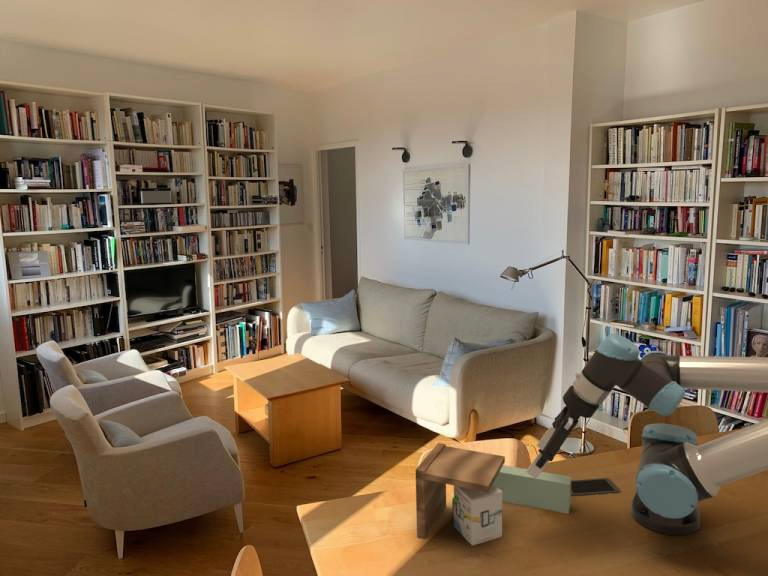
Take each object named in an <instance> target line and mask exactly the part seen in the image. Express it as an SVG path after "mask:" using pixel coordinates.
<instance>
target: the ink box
mask: <svg viewBox="0 0 768 576" xmlns="http://www.w3.org/2000/svg"><path fill="white" fill-rule="evenodd" d="M453 497H454V512H453V527H454V528H455V530H456V531H457V532H458V533H459V534H460V535H461V536H462V537H463V538H464V539H465V540H466V541H467V542H468V543H469V544H470V545H471V546H476V545H479V544H483V543H485V542H488V541H491V540H495V539H498V538H502V537H503V501H502V491H501V490H500V489H499V488H497V487H496V486H495V485H494V484H492V486H491V488H490V490H489V492H484V491H479V490H474V489H469V488H464V487H459V486H454V485H453Z"/></svg>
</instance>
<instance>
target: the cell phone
mask: <svg viewBox="0 0 768 576" xmlns="http://www.w3.org/2000/svg"><path fill="white" fill-rule="evenodd" d="M619 492H620V493H621V489H620V488H619V487H618V486H617V485H616V483H614V481H612V479H610V478H608V477H602V478H601V477H600V478H588V479H574V480H573V479H571V497H582V496H593V495H594V496H595V495H596V494H598V495H607V494H608V493H612V494H620V493H619ZM608 495H609V494H608Z"/></svg>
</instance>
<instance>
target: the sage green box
mask: <svg viewBox="0 0 768 576" xmlns="http://www.w3.org/2000/svg"><path fill="white" fill-rule="evenodd" d="M527 469H528V468H523V467H516V466H511V465H504V464H503V466H502V468H501V470H500V472H499V473H498V475H497V477H496V479H495V481H494V482H493V484H494V485H495V486H496V487H497V488H499V489H500V490H501V491H502V502H506V503H510V504H511V503H512V504H517V505H520V506H521V505H522V506H524V507H525V506H527V507H531V508H535V509H541V510H545V511H552V512H557V513H562V514H567V515H569V513H570V510H571V507H572V506H571V504H572V496H571V480H572V476H567V475H563V474H556V473H551V472H545V471H542V472H541V473H540V475H539V476H538V477H537V479H535V478H534V477H532V476H531V475H530V474H528V473H527V472H526V470H527ZM451 501H452V502H451V504H452V507H451V509H452V513H454V496H453V497H452V500H451Z"/></svg>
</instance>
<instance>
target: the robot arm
mask: <svg viewBox="0 0 768 576" xmlns="http://www.w3.org/2000/svg"><path fill="white" fill-rule="evenodd" d="M640 353H641V351H640V349H639V347H638V346H637V345H636V344H635V343H634V342H632V341H631V340H630V339H628V338H627V337H625V336H623V335H621V334H618V333H610V334H609V335H607V336H606V337H605V338H604V340H603V341H602V342H601V344H599V346H597V349H596V350H595V351H594V353H593V354H592V356H590V358H589V360H588V361H587V362H586V364H585V365H584V367H583V368H582V370H581V372H576V373H575V374H574V375H575V377H576V378H575V380H574V381H573V382H572V385H570V386H569V387H568V389H567V391H565V393H564V394H563V396H562V400H563V403H564V405H565V406H564V407H563V408H562V410H561V411H560V412H559V413H558V415H556V416H555V418H554V421H553V422H552V424H551V425H550V426H549V428H548V429H547V430H546V432H544V434H543V436H542V437H541V439H540V440H539V441H538V443H537V444H536V447H537V448H539V449H538V451H537V452H538V454H537V455H536V457H535V458H534V459H533V461H532V462H531V463H530V465H529V467H528V468H526V469H527V470H526V472H527V473H528V474H530V475H531V476H532V477H534V478H535V479H537V477H538V476H539V475H540V473H541V472H544V469H545V468H546V467H547V466H548V464H549V463H550V462H552V461H554V458H555V457H556V455H557V453H558V452H559V450H560V449H561V447H562V446H563V444H564V443H565V442H566V440H567V438H568V437H569V435H570V434H571V432H572V431H573V429H575V428H576V426H577V425H578V423H579V419H580V418H582V417H583V418H585V419H589V418H590V419H591V418H592V417H593V416H594V415H595V413H596V412H597V411H598V409H599V408H600V405H602V404H603V403H604V402H605V400H606V399H607V398H608V396H609V395H610V393H612V391H613V389H614V388H615V387H618V388H619V389H620V390H622V391H624V392H625V393H627V395H629V396H630V397H632V398H634V399H636V400H637V401H639V403H641V404H642V405H644V406H646V407H647V408H648V409H649V410H650V411H653V412H655V413H657V414H658V415H660V416H661V417H662V416H663V417H668V416H670V415H672V413H674V412H675V411H676V409H677V408H678V407H679V406H680V404H681V403H682V401H684V397H685V395H686V391H685V389H687V390H705V391H706V390H709V391H730V392H749V393H750V392H752V393H768V357H767V356H766V357H761V356H760V357H759V356H758V357H757V356H755V357H754V356H751V357H750V356H710V355H709V356H706V355H705V356H704V355H703V356H701V355H695V356H694V355H673V354H672V355H671V354H667V353H665V352H664V351H660V350H652V351H648V352H646V353H645V354H643V356H642V357H641V359H640V358H639V355H640ZM641 438H642V441H641V454H640V460H639V463H638V464H639V465H638V467H637V468H638V469H637V473H636V476H635V484H636V490H635V493H634V495H633V497H632V499H631V506H630V513H631V516H632V518H633V519H634V520H635V521H636V522H637V523H638V524H640V525H641V526H643V527H645V528H647V529H649V530H651V531H653V532H656V533H659V534H664V535H670V536H687V535H692V534H694V533H696V532H697V531H698V530H699V529H700V527H701V513H700V510H699V507H698V503H699V502H703V501H706V500H708V499H711V498H714V497H717V495H718V492H719V489H720V488H721V487H722V486H724V485H727V484H730V483H732V482H735V481H737V480H741V479H744V478H747V477H750V476H753V475H755V474H759V473H761V472H764V471H767V470H768V418H767V419H765V420H762V421H759V422H756V423H754V424H751V425H749V426H747V427H743V428H741V429H739V430H736V431H732V432H730V433H728V434H725V435H723V436H721V437H718V438H715V439H713V440H710V441H707V442H705V443H702V444H700V445H699V443H698V435H697V434H696V432H694V431H693V430H692V429H689V428H686V427H683V426H680V425H675V424H671V423H670V424H669V423H657V422H656V423H650V424H647V425H645V426H644V427H643V429H642V434H641Z"/></svg>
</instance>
